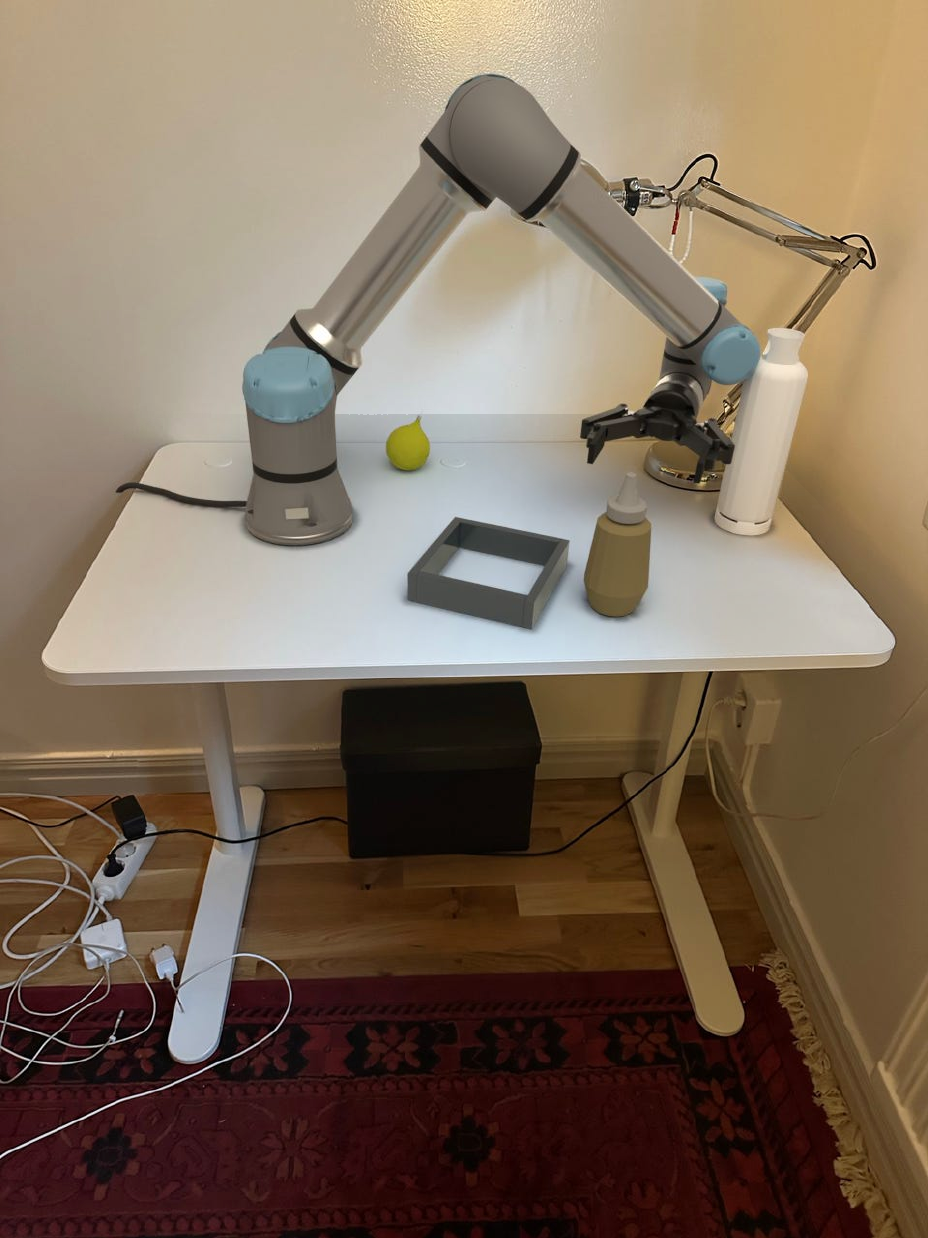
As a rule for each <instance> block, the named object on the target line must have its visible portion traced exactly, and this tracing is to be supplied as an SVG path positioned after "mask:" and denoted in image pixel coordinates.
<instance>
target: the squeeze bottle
mask: <svg viewBox="0 0 928 1238" xmlns="http://www.w3.org/2000/svg"><path fill="white" fill-rule="evenodd" d="M647 509H648V505H647V502H646V501H645V500H644V499H642V498H640V497H639V489H638V476H637V473H635V472H627V473H626V475H625V476H624V479H623V481H622V485H621V487H620V489H619V492H618V494H616V495H613V496H611V497H610V498H609V499H608V500H607V503H606V511H605V512H604V513H601V515H600V516H598V517H597V520H596V523H595V529H594V532H593V536H592V541H591V544H590V549H589V552H588V556H587V561H586V565H585V569H584V574H583V584H584V588H585V592H586V596H587V600H588V604H589V605H590V607H591V609H592V610H594V611H595V612H597V613H598V614H600V615H601V614H602V615H605V616H609V617H615V618H616V617H618V618H619V617H625V616H628V615H630V614H633V612H634V611H635V610H636V608H637V607H638V605H639V603H640V602H641V600H642V598H643V597H644V596H645V593H646V592H647V590H648V588H649V581H650V560H651V559H650V558H651V543H652V542H651V540H652V522H650V520H649V518H647V516H646V514H647Z"/></svg>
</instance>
